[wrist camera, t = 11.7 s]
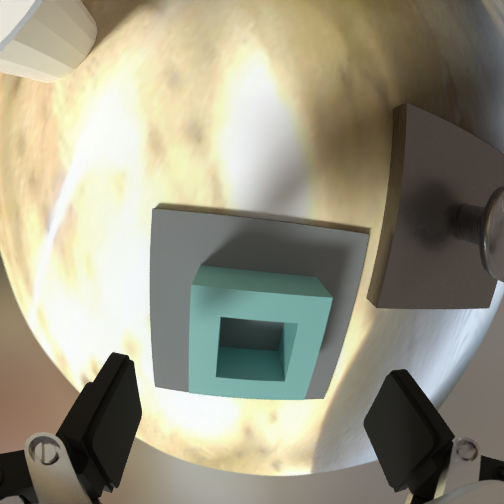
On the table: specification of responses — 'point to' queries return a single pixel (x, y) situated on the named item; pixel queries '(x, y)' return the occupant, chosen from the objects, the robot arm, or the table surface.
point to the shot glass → (44, 37)
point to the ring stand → (439, 218)
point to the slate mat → (254, 259)
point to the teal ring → (264, 309)
